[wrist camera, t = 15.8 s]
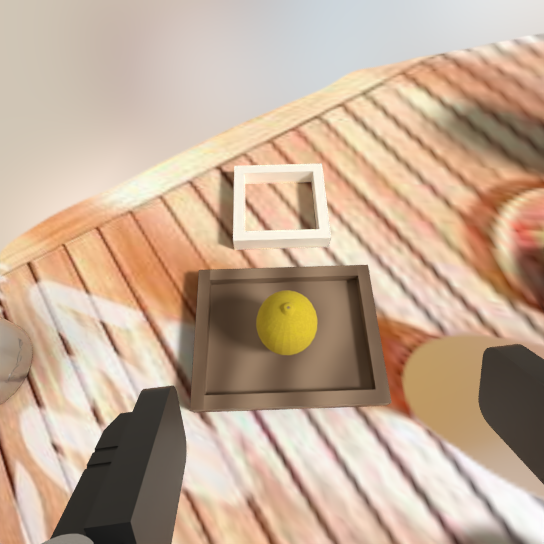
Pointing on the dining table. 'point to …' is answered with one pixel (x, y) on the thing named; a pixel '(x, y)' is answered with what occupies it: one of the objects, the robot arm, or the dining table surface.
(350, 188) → the dining table surface
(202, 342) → the walnut tray
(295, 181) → the holder frame
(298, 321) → the lemon
